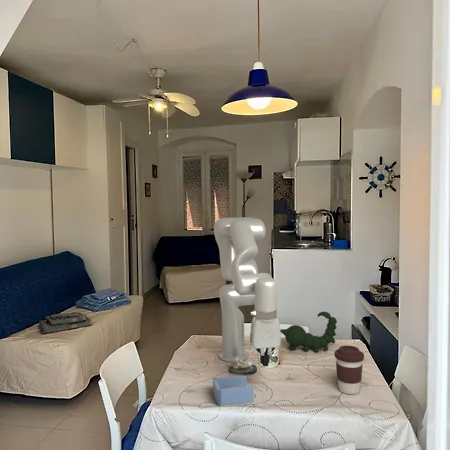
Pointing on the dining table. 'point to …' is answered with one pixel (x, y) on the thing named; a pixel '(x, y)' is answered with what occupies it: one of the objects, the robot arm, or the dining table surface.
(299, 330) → the toy figurine
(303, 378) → the dining table surface
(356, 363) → the coffee cup
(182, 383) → the dining table surface
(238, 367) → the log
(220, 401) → the box
